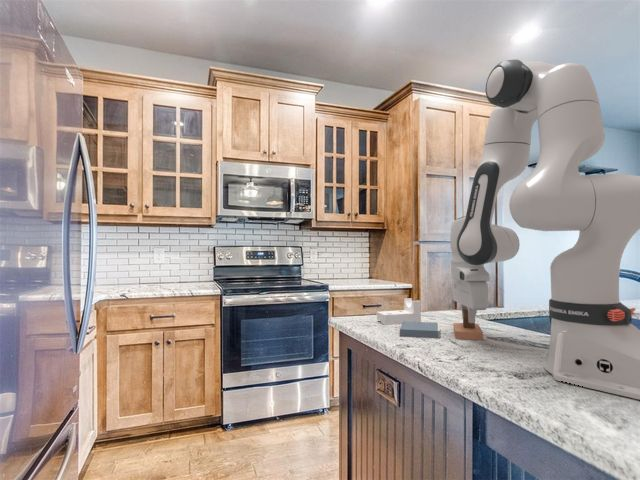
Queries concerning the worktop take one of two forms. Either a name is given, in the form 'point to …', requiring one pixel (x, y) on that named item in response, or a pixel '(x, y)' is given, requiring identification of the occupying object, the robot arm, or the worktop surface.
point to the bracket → (402, 313)
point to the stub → (467, 329)
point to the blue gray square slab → (420, 329)
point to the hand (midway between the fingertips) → (468, 321)
